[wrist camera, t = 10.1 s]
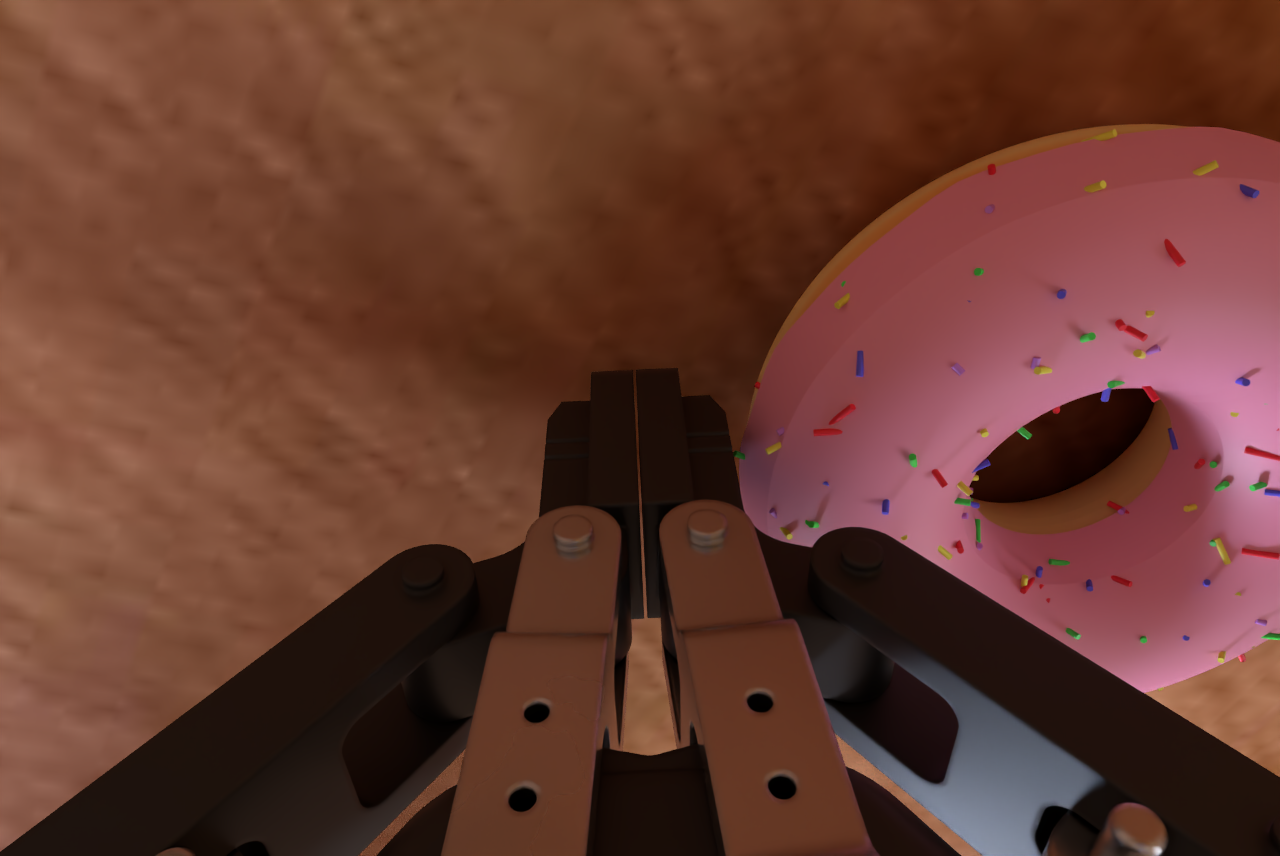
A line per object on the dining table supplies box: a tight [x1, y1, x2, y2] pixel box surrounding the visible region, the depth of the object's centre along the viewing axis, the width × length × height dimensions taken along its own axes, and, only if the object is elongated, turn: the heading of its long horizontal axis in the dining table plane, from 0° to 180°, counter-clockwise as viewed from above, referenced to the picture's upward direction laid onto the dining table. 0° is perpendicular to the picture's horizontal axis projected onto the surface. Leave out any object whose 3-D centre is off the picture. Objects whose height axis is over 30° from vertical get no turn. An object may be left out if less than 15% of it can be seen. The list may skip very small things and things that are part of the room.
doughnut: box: [733, 124, 1280, 693], centre depth 15 cm, size 11×11×4 cm
